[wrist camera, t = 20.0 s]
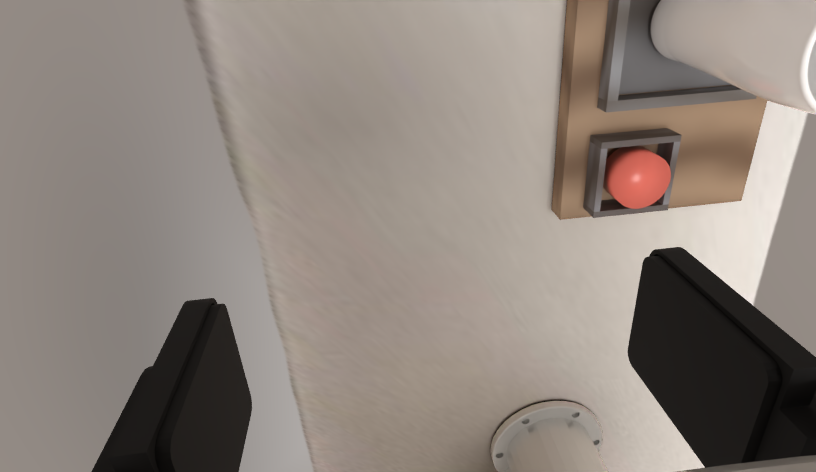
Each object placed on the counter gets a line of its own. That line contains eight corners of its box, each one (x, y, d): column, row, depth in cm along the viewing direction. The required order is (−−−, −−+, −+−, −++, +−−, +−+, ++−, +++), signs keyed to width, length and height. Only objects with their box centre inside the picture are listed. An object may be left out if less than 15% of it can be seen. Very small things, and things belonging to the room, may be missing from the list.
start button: (649, 194, 42) (665, 205, 40) (597, 199, 42) (610, 211, 40) (658, 142, 40) (675, 151, 38) (603, 147, 40) (618, 157, 38)
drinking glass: (671, 88, 39) (840, 149, 26) (617, 25, 36) (774, 56, 23) (746, 14, 37) (971, 39, 24) (695, -58, 34) (916, -76, 21)
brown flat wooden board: (726, 191, 46) (757, 210, 42) (551, 209, 45) (569, 230, 41) (796, -101, 36) (845, -108, 32) (573, -86, 35) (599, -93, 31)
